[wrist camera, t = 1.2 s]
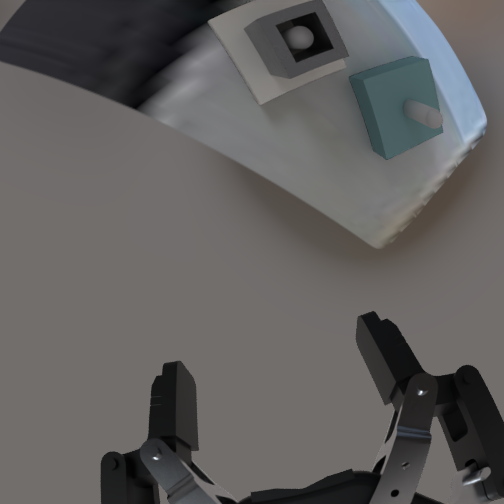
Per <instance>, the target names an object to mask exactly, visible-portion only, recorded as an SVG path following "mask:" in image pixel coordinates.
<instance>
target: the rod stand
mask: <svg viewBox="0 0 504 504" xmlns="http://www.w3.org/2000/svg"><path fill="white" fill-rule="evenodd" d="M308 1H312V0H255V1H252V2H249V3H247V4H244V5H242V6H239V7H237V8H235V9H232V10H230V11H228V12H226V13H223V14H221V15H219V16H217V17H215V18H213V19H211V20H209V21H208V24H209V26H210V27H211V29H212V30H213V32H214V33H215V35H216V36H217V38H218V39H219V41H220V42H221V44H222V45H223V47H224V49H225V50H226V52H227V53H228V55H229V56H230V58H231V60H232V61H233V63H234V64H235V66H236V68H237V69H238V71H239V73H240V74H241V76H242V78H243V79H244V81H245V83H246V84H247V86H248V88H249V89H250V91H251V93H252V95H253V96H254V98H255V100H256V102H257V103H258V104H259V105H262V104H264V103H266V102H268V101H270V100H272V99H274V98H276V97H278V96H280V95H282V94H284V93H286V92H289V91H291V90H293V89H295V88H297V87H300V86H302V85H304V84H306V83H309V82H311V81H313V80H316V79H318V78H321V77H323V76H326V75H328V74H331V73H333V72H336V71H339V70H341V69H344V68H347V67H346V64H345V62H344V60H343V58H342V59H340V60H337V61H334V62H331V63H329V64H326V65H323V66H321V67H318V68H316V69H313V70H311V71H308V72H306V73H304V74H301V75H299V76H296V77H294V78H292V79H287V78H283V77H278V76H273V75H270V73H269V71H268V69H267V67H266V66H265V64H264V62H263V60H262V59H261V57H260V55H259V54H258V52H257V50H256V48H255V47H254V45H253V43H252V42H251V40H250V38H249V37H248V35H247V34H246V32H245V30H244V28H245V27H246V26H248V25H249V24H250V23H252V22H253V21H255V20H256V19H258V18H261V17H263V16H266V15H269V14H271V13H274V12H277V11H280V10H283V9H286V8H289V7H292V6H295V5H298V4H301V3H305V2H308ZM276 27H277V29H278V31H279V32H280V34H281V36H282V38H283V39H284V41H285V43H286V45H287V47H288V48H289V50H290V52H291V54H292V55H293V54H296V53H298V52H301V51H303V50H306V48H308V47H309V46H311V45H312V43H313V40H314V37H313V34H312V32H311V31H310V30H309V29H308V28H306V27H304V26H296V27H294V25H293V24H292V22H291V20H290V21H288V22H285V23H282V24H279V25H277V26H276Z"/></svg>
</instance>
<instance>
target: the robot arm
mask: <svg viewBox="0 0 504 504" xmlns="http://www.w3.org/2000/svg"><path fill="white" fill-rule="evenodd" d="M356 342H357V345H358V348H359V350H360V352H361V355H362V356H363V359H364V361H365V363H366V365H367V367H368V369H369V371H370V374H371V375H372V378H373V380H374V382H375V384H376V387H377V388H378V391H379V393H380V395H381V398H382V400H383V402H384V404H385V405H387V404H389V403H392V404H393V406H394V411H393V414H392V417H391V421H390V424H389V427H388V430H387V433H386V436H385V439H384V442H383V444H382V447H381V449H380V451H379V453H378V455H377V457H376V460H375V462H374V465H373V467H372V470H371V472H369V471H352V469H349V470H346V471H343V472H340V473H337V474H334V475H331V476H327V477H326V478H324V479H322V480H320V481H318V482H316V483H314V484H312V485H310V486H308V487H306V488H303V489H271V490H264V491H258V492H251V496H248V497H247V498H244V499H242V500H241V501H238V500H237V499H235V498H234V497H233V496H232V495H231V494H230V493H228V492H227V491H226V490H225V489H223V488H222V487H220V486H219V485H218V484H216V483H215V482H214V481H213V480H212V479H211V478H210V477H209V476H208V475H207V474H206V473H205V472H204V471H203V470H202V469H201V468H200V467H199V466H198V465H197V464H196V463H195V461H194V460H192V458H191V451H198V450H199V447H198V430H197V402H196V384H195V381H194V378H193V377H192V375H191V374H190V373H189V371H188V370H187V369H186V368H185V366H184V365H183V363H182V362H181V361H175V362H169V363H164V365H163V371H162V375H161V376H156V378H155V380H154V383H153V384H152V389H151V403H150V405H151V406H150V415H149V434H148V439H147V441H145V442H144V443H143V445H142V446H141V448H140V449H138V450H135V451H132V452H129V453H126V454H122V455H121V454H120V453H118V452H108V453H107V454H105V455H104V456H103V458H102V461H101V504H160V499H159V489H158V484H160V485H161V487H162V488H163V489H164V490H165V492H166V493H167V495H168V497H167V500H168V502H169V503H170V504H443V503H441V502H438V501H436V500H434V499H431V498H429V497H426V496H424V495H422V494H419V493H417V492H415V491H416V488H417V486H418V483H419V480H420V477H421V474H422V471H423V468H424V465H425V462H426V458H427V455H428V452H429V448H430V444H431V439H432V437H431V434H430V428H431V424H432V419H433V417H436V416H437V417H438V419H439V422H440V424H441V427H442V429H443V432H444V434H445V437H446V440H447V442H448V445H449V448H450V451H451V453H452V456H453V459H454V462H455V465H456V468H457V471H458V472H457V473H456V474H455V476H454V478H453V480H452V483H451V489H452V492H451V496H450V499H449V500H448V502H447V503H446V504H488V503H490V502H491V501H494V500H497V499H501V498H504V422H503V420H502V417H501V415H500V413H499V411H498V409H497V406H496V404H495V402H494V400H493V398H492V396H491V394H490V392H489V390H488V388H487V386H486V384H485V382H484V380H483V379H482V377H481V375H480V373H479V371H478V370H477V369H476V368H475V367H473V366H471V365H465V366H462V367H460V368H459V369H458V370H457V372H456V373H453V374H448V375H442V376H433V375H431V374H428V373H427V372H425V371H424V370H423V369H422V367H421V365H420V364H419V362H418V360H417V359H416V357H415V355H414V353H413V352H412V350H411V348H410V347H409V345H408V344H407V343H406V340H405V339H404V337H403V336H402V334H401V332H400V331H399V329H398V327H397V326H396V325H395V324H394V323H392V322H391V321H390V320H388V319H385V320H382V321H381V320H380V319H379V317H378V315H377V314H376V312H374V311H372V312H369V313H366V314H364V315H361V316H358V320H357V329H356ZM404 469H405V470H404Z"/></svg>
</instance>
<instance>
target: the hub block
mask: <svg viewBox="0 0 504 504" xmlns="http://www.w3.org/2000/svg"><path fill="white" fill-rule="evenodd" d="M349 79H350V81H351V84H352V87H353V89H354V92H355V95H356V97H357V100H358V103H359V106H360V109H361V112H362V115H363V118H364V121H365V124H366V127H367V130H368V134H369V137H370V140H371V144H372V147H373V151H374V152H376V153H377V154H379V155H380V156H382V157H383V158H385V159H386V160H388V159H390V158H392V157H394V156H396V155H398V154H400V153H402V152H404V151H406V150H408V149H410V148H412V147H414V146H416V145H418V144H420V143H422V142H424V141H426V140H428V139H430V138H432V137H435V136H437V135H439V134H441V133H443V128H442V123H443V117H442V115H441V113H440V109H439V103H438V98H437V93H436V88H435V84H434V80H433V75H432V71H431V68H430V64H429V60H428V59H424V58H419V57H413V56H411V57H408V58H404V59H401V60H398V61H394V62H391V63H388V64H385V65H382V66H379V67H376V68H373V69H370V70H367V71H364V72H361V73H358V74H356V75H353V76H350V77H349Z"/></svg>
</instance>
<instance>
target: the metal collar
mask: <svg viewBox="0 0 504 504" xmlns="http://www.w3.org/2000/svg"><path fill="white" fill-rule="evenodd" d="M290 20H291V22H292V24H293V25H294V27H296V26H304V27H306V28H308V29H309V30H310V31H311V32H312V34H313V37H314V40H313V43H312V45H311V46H309V47H308V48H306V50H303V51H301V52H298V53H296V54H293V55H292V54H291V52H290V50H289V48H288V47H287V45H286V43H285V41H284V39H283V38H282V36H281V34H280V32H279V31H278V29H277V27H276V26H277V25H279V24H282V23H285V22H288V21H290ZM244 30H245V32H246V34H247V35H248V37H249V38H250V40H251V42H252V43H253V45H254V47H255V48H256V50H257V52H258V54H259V55H260V57H261V59H262V60H263V62H264V64H265V66H266V67H267V69H268V71H269V73H270V75H273V76H278V77H283V78H287V79H292V78H294V77H296V76H299V75H301V74H304V73H306V72H308V71H311V70H313V69H316V68H318V67H321V66H323V65H326V64H329V63H331V62H334V61H337V60H340V59H342V58H345V57H348V56H349V54H348V52H347V50H346V48H345V45H344V43H343V41H342V39H341V37H340V34H339V32H338V30H337V28H336V26H335V24H334V22H333V20H332V18H331V16H330V14H329V12H328V11H327V9H326V7H325V5H324V3H323V1H322V0H312V1H308V2H305V3H301V4H298V5H295V6H292V7H289V8H286V9H283V10H280V11H277V12H274V13H271V14H269V15H266V16H263V17H261V18H258V19H256V20H255V21H253V22H252V23H250V24H249V25H248V26H246V27H245V28H244Z"/></svg>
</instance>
